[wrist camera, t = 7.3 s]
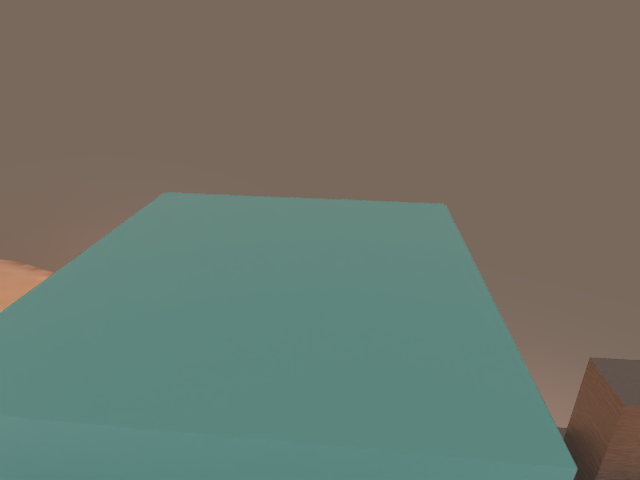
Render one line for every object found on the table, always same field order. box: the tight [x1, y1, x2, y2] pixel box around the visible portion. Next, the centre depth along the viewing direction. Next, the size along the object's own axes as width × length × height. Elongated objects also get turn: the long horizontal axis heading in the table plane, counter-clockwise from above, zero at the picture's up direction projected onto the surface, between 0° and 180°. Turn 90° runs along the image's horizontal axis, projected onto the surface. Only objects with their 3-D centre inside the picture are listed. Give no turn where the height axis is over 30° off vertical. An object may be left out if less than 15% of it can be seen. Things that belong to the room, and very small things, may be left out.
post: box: [558, 358, 640, 480], centre depth 18 cm, size 8×8×8 cm
